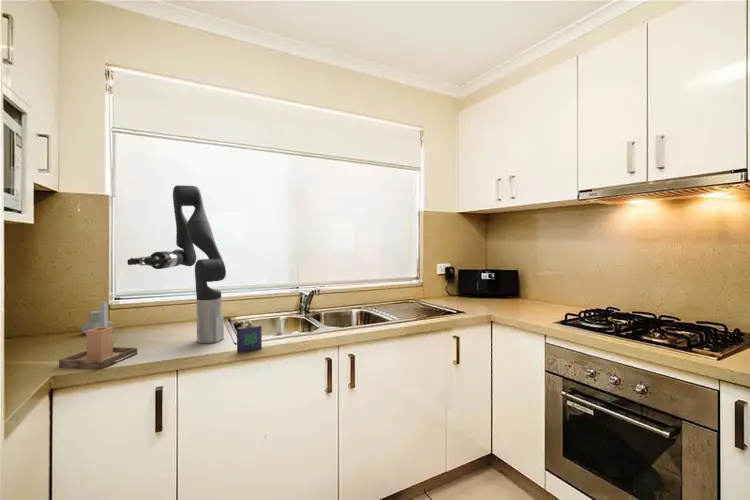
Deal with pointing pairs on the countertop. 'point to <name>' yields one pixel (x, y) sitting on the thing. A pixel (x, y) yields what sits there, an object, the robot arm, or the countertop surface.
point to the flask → (249, 338)
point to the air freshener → (94, 322)
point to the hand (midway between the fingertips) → (139, 262)
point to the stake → (104, 314)
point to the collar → (99, 343)
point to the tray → (86, 364)
